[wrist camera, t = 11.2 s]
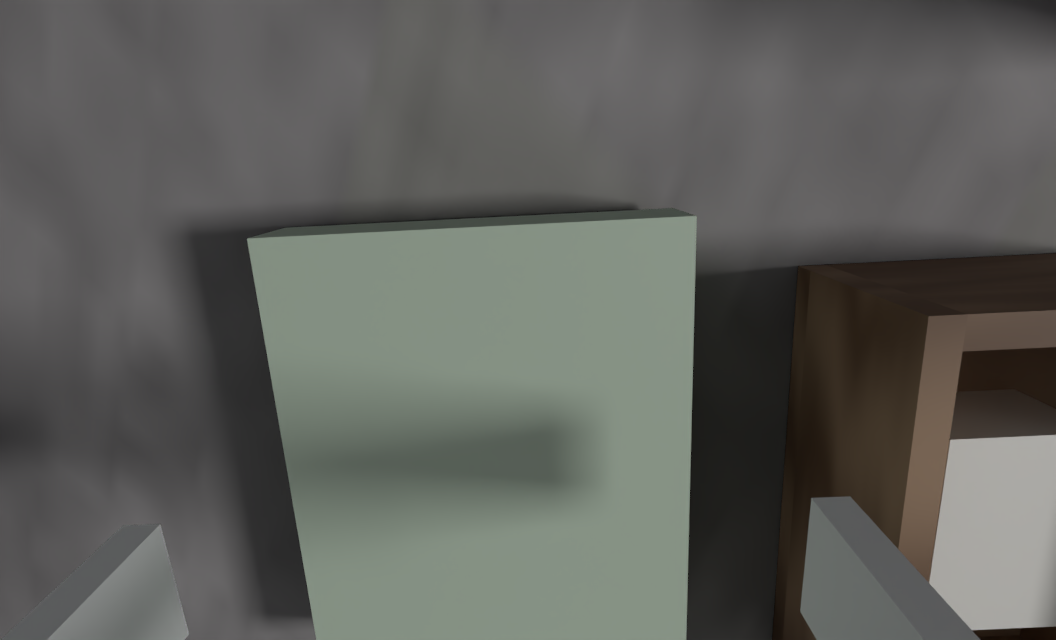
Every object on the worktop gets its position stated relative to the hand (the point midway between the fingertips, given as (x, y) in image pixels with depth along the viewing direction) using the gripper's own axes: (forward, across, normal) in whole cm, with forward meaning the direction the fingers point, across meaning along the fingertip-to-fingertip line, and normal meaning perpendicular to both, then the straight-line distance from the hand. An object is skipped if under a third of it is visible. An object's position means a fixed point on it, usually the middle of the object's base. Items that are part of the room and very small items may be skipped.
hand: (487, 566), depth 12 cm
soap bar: (+7, +14, -3) cm, 15 cm away
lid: (+8, 0, -1) cm, 8 cm away
